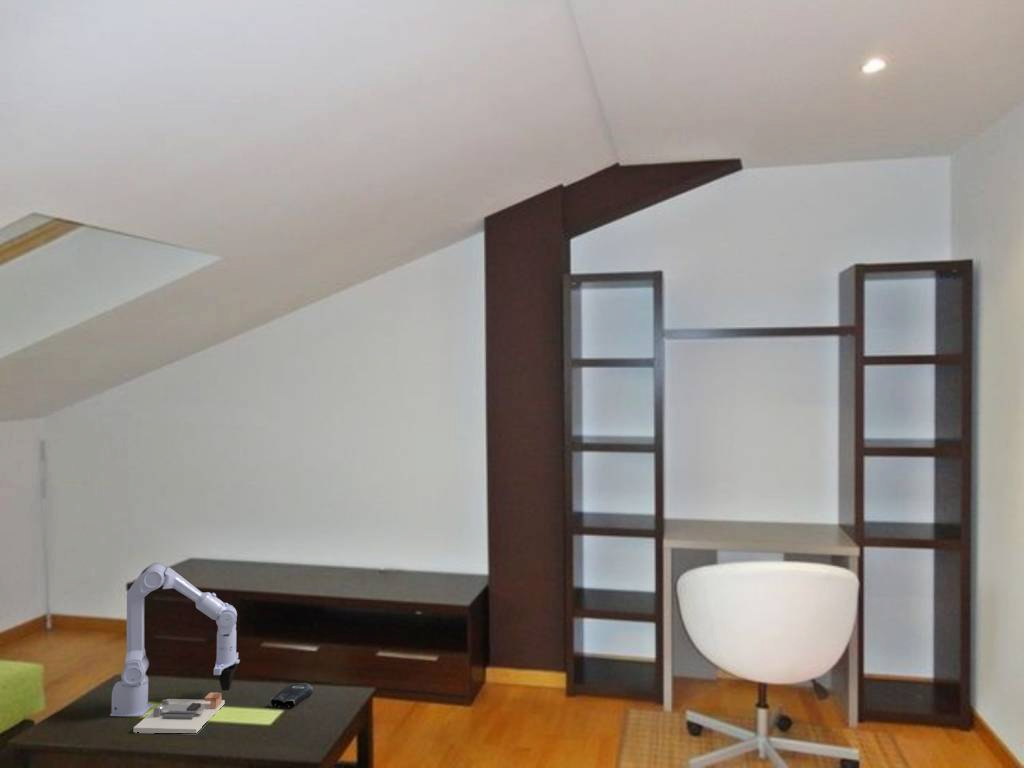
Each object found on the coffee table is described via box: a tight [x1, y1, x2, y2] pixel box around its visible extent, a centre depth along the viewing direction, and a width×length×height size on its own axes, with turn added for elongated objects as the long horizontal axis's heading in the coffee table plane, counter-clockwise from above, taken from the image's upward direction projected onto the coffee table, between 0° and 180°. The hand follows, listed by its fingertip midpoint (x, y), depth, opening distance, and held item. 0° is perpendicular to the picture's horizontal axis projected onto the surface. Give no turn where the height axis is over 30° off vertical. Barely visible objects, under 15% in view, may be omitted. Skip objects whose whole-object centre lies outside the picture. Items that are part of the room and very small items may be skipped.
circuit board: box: [132, 698, 226, 734], centre depth 224 cm, size 18×20×4 cm
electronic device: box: [267, 682, 314, 709], centre depth 239 cm, size 9×6×15 cm
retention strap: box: [158, 703, 207, 714], centre depth 224 cm, size 14×4×2 cm, turn 89°
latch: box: [204, 692, 223, 708], centre depth 229 cm, size 4×4×3 cm
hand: (225, 689), depth 236 cm, fingers closed
